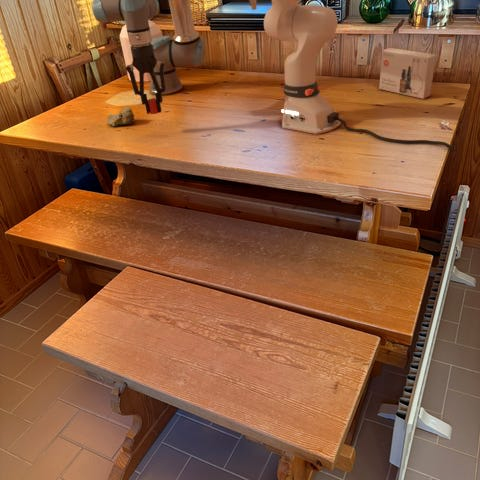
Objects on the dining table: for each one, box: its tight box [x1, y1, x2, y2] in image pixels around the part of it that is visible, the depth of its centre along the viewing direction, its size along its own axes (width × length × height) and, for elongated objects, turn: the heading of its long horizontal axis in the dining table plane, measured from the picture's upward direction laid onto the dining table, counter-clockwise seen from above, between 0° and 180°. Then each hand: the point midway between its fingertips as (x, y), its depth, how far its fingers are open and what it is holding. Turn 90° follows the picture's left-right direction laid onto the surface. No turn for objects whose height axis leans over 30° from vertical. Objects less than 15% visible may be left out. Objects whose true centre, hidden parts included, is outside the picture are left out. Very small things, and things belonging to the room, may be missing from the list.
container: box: [119, 19, 163, 83], centre depth 235 cm, size 21×21×28 cm
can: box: [147, 97, 159, 115], centre depth 168 cm, size 4×4×5 cm
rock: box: [107, 106, 135, 127], centre depth 186 cm, size 11×6×10 cm
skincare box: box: [378, 47, 437, 100], centre depth 184 cm, size 21×6×16 cm, turn 40°
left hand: (154, 111), depth 169 cm, fingers closed on can, 4 cm apart
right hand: (253, 7), depth 187 cm, fingers open, 8 cm apart
